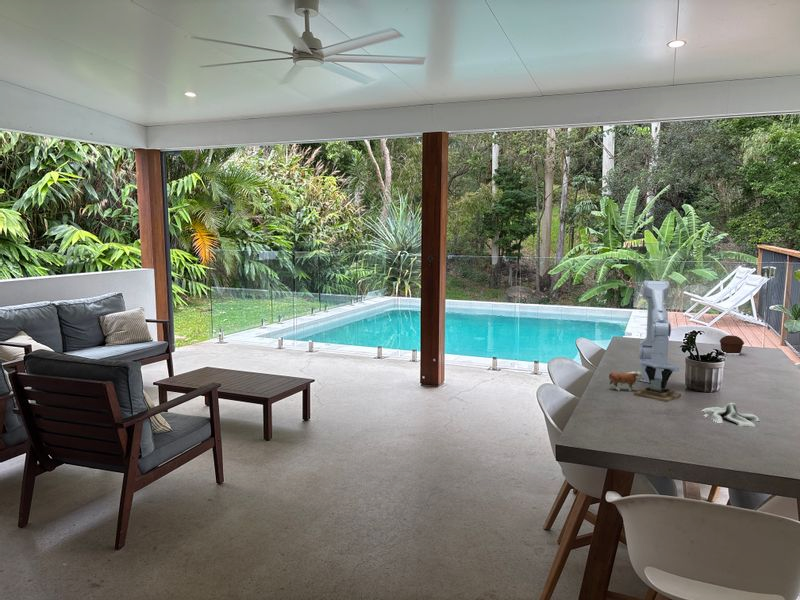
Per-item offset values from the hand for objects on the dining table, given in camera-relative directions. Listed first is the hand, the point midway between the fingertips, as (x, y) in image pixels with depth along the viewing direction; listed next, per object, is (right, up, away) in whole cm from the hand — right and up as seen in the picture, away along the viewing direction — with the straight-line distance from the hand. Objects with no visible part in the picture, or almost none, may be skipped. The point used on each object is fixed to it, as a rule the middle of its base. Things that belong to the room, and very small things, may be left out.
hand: (657, 386), depth 226 cm
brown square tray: (0, -3, 0) cm, 3 cm away
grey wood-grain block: (0, -2, 0) cm, 2 cm away
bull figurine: (-10, -3, +8) cm, 13 cm away
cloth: (+11, -7, -29) cm, 32 cm away
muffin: (+78, +5, +85) cm, 115 cm away
